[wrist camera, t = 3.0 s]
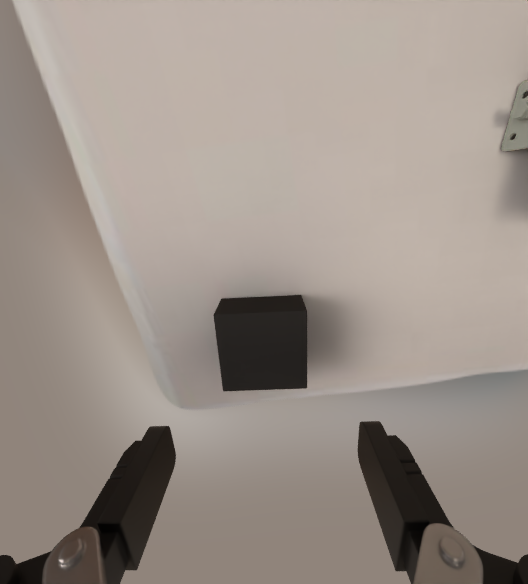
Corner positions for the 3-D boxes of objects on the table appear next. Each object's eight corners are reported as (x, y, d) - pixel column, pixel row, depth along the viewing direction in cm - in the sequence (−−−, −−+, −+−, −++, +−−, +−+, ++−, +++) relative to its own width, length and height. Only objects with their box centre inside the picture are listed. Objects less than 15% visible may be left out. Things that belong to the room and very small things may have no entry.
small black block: (228, 366, 22) (223, 391, 19) (221, 298, 20) (213, 314, 17) (302, 364, 22) (307, 388, 19) (301, 294, 20) (306, 310, 17)
